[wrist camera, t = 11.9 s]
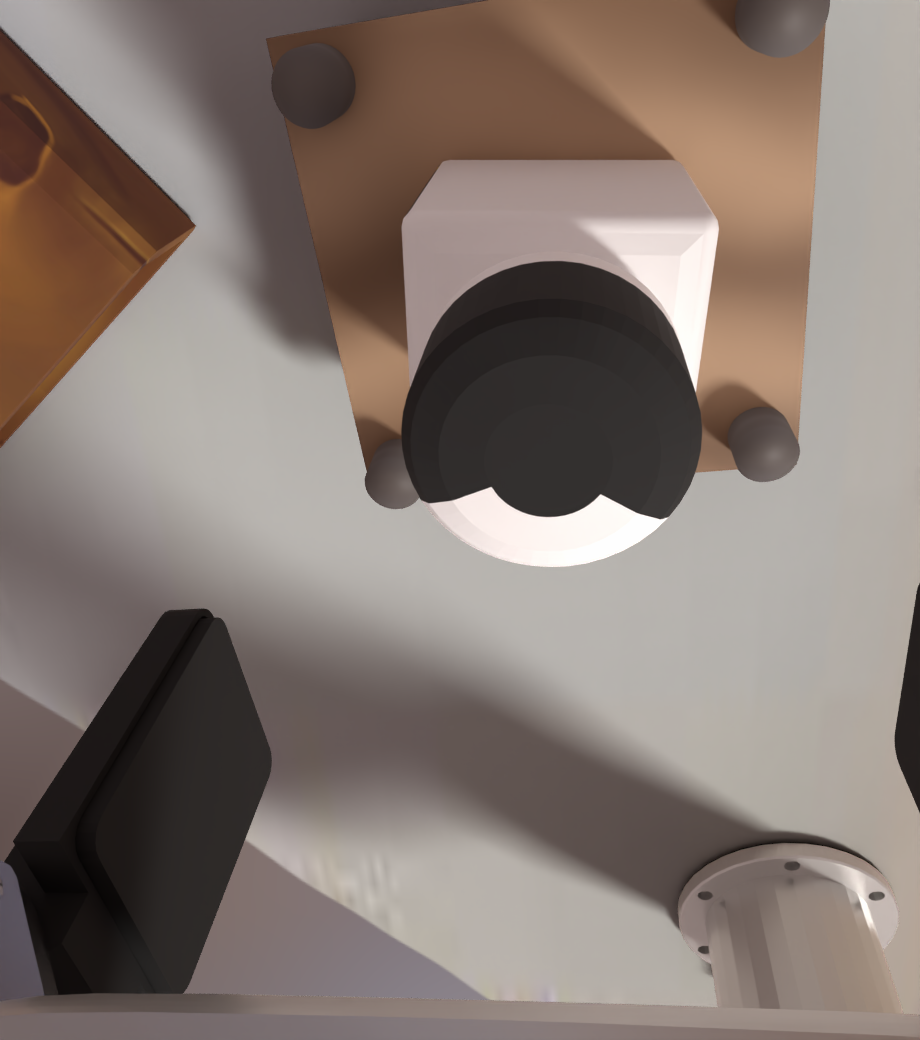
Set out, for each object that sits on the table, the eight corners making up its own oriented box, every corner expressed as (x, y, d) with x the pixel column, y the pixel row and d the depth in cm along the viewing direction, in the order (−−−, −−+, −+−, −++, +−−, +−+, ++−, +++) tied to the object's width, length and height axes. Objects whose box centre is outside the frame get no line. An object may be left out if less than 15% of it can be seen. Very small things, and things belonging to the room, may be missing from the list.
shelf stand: (760, 388, 35) (806, 486, 28) (400, 420, 37) (364, 518, 30) (776, -51, 27) (847, -61, 20) (321, 27, 29) (249, 41, 23)
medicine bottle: (437, 157, 25) (352, 277, 15) (684, 157, 24) (768, 283, 14) (444, 383, 29) (379, 599, 19) (658, 388, 28) (710, 616, 18)
